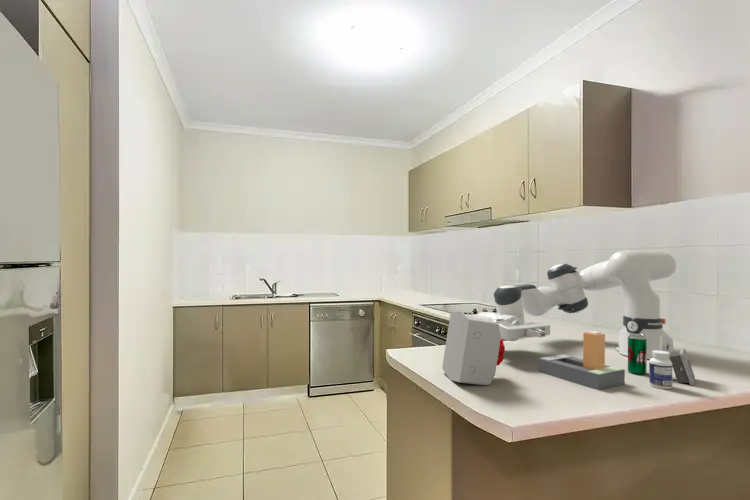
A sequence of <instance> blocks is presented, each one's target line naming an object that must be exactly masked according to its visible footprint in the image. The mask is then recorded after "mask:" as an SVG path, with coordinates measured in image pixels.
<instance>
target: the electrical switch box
mask: <svg viewBox="0 0 750 500" xmlns="http://www.w3.org/2000/svg"><path fill="white" fill-rule="evenodd" d="M505 348H506V347H505V343H504V339H502V338H501V334H500V329H499V324H497V323H495V322H492V321H489V320H486V319H484V318H481V317H478V316H477V315H472V314H466V313H464V312H463V311H460V310H459V311H452V312H450V314H449V321H448V327H447V334H446V340H445V348H444V353H443V361H442V366H441V367H442V371H443V372H444V373H445V375H446V376H447V378H448V379H449V380H450V381H453V382H457V383H462V384H470V385H478V386H490V385H491V383H492V382H493V380H494V377H495V376H496V371H497V366H501V365H500V364H501V363H503V361H504V357H505V352H506V351H505V350H506V349H505Z"/></svg>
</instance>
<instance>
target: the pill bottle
mask: <svg viewBox="0 0 750 500" xmlns="http://www.w3.org/2000/svg"><path fill="white" fill-rule="evenodd" d="M652 356H653V358H651V359H649V365H648V367H649V369H648V371H649V375H648V377H649V385H650V386H651V387H653V388H656V389H660V390H661V389H662V390H672V388H673V367H672V362H671V361H670V360H668V358H669V357H670V356H669V352H666V351H659V350H654V351H652Z"/></svg>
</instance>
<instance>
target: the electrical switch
mask: <svg viewBox="0 0 750 500" xmlns="http://www.w3.org/2000/svg"><path fill="white" fill-rule="evenodd" d="M675 351H676V352H671V353H670V355H669V356H670V357H669V358H670V361H671V362H672V371H673V372H674V373H673V374H674V375H675V378H676V381H677V383H678V384H681V383H682V384H683V383H684V384H687V383H688V384H689V385H690V386H694V385H695V379H696V378H695V373H694V370H693V367H692V360H691V359H689V355H688V353H687V351H686V349H685V347H681V348H680V350H675ZM671 356H672V357H671Z"/></svg>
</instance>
